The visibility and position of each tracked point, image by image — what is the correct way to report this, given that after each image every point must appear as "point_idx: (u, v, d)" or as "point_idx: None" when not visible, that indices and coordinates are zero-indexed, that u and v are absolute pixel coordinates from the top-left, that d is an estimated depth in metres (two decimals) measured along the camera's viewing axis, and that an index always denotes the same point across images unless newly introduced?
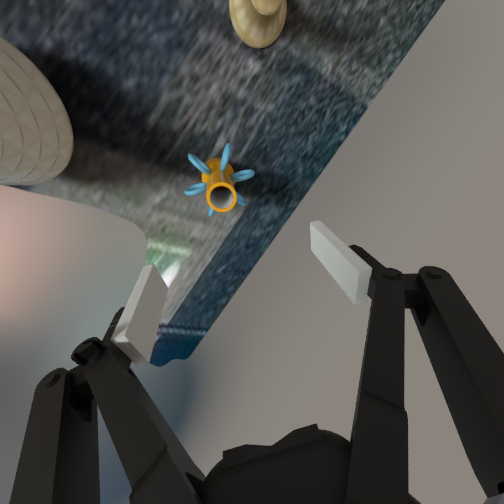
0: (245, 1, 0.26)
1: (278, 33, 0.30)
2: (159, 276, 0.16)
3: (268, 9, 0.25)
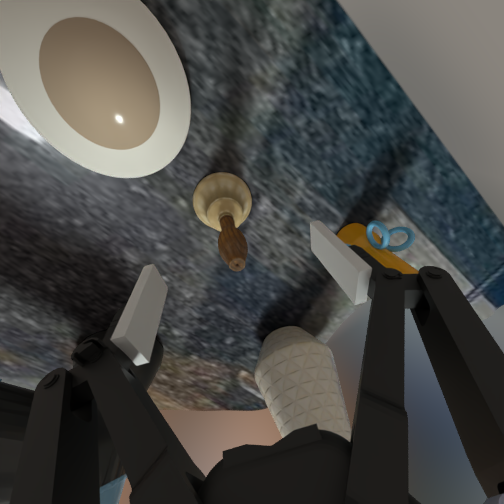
0: None
1: (240, 181, 0.27)
2: (159, 276, 0.16)
3: (240, 214, 0.25)
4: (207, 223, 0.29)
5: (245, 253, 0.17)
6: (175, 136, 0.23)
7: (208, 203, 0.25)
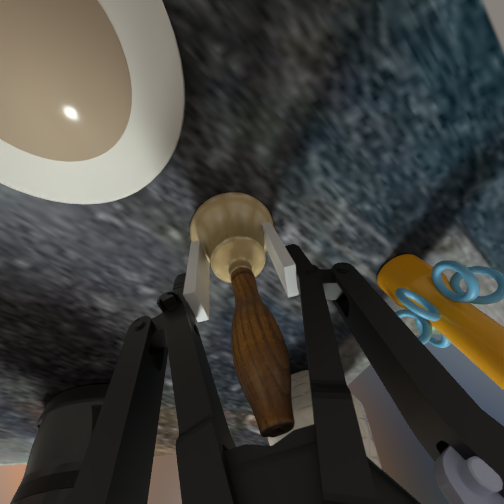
0: None
1: (259, 205, 0.19)
2: (203, 252, 0.18)
3: (261, 260, 0.16)
4: None
5: (290, 387, 0.08)
6: (159, 140, 0.14)
7: (213, 243, 0.16)
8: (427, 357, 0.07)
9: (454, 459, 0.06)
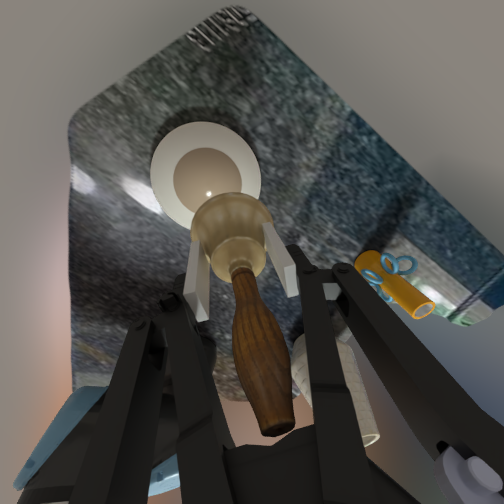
0: None
1: (260, 205, 0.19)
2: (203, 252, 0.18)
3: (261, 260, 0.16)
4: (210, 262, 0.21)
5: (291, 387, 0.08)
6: None
7: (213, 243, 0.16)
8: (427, 357, 0.07)
9: (454, 459, 0.06)
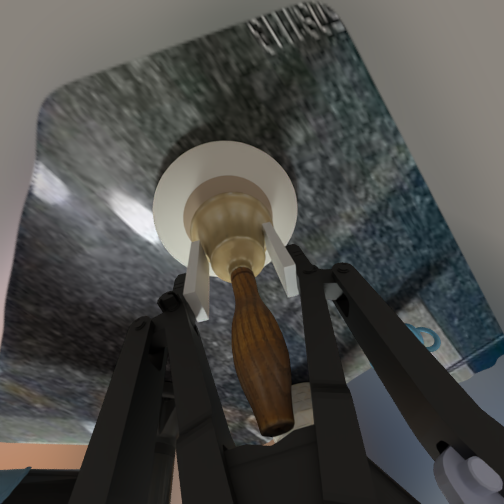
0: None
1: (260, 205, 0.19)
2: (203, 252, 0.18)
3: (261, 260, 0.16)
4: None
5: (290, 387, 0.08)
6: None
7: (213, 243, 0.16)
8: (426, 357, 0.07)
9: (454, 459, 0.06)
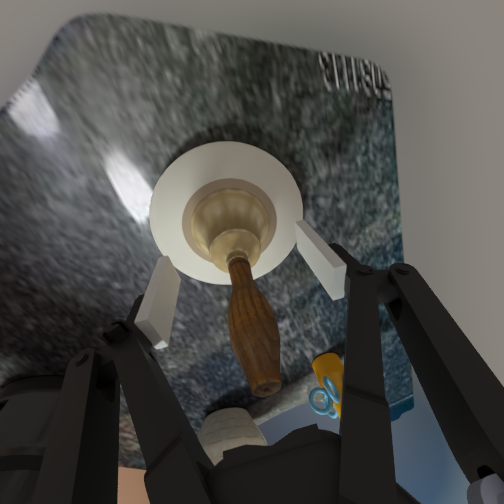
0: None
1: (256, 200, 0.20)
2: (173, 267, 0.17)
3: (257, 251, 0.17)
4: (209, 255, 0.22)
5: (279, 356, 0.09)
6: (259, 270, 0.26)
7: (212, 236, 0.17)
8: (488, 378, 0.06)
9: (496, 486, 0.05)
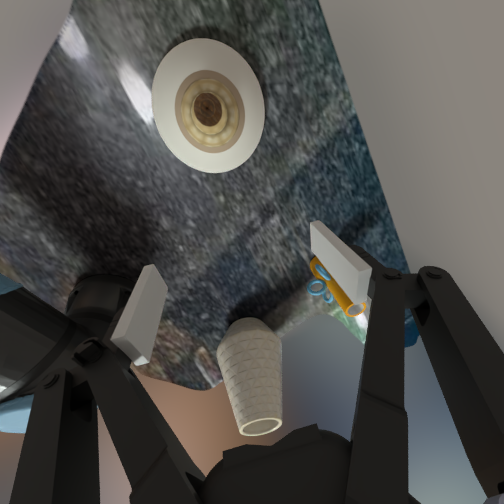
0: (218, 134, 0.28)
1: (223, 85, 0.28)
2: (159, 276, 0.16)
3: (223, 109, 0.25)
4: (198, 139, 0.30)
5: (216, 103, 0.17)
6: (240, 156, 0.33)
7: None
8: None
9: None
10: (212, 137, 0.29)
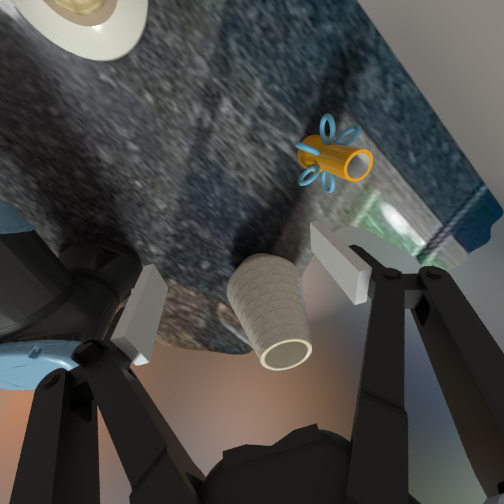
0: None
1: None
2: (159, 276, 0.16)
3: None
4: (68, 3, 0.23)
5: None
6: (135, 15, 0.26)
7: None
8: None
9: None
10: None
